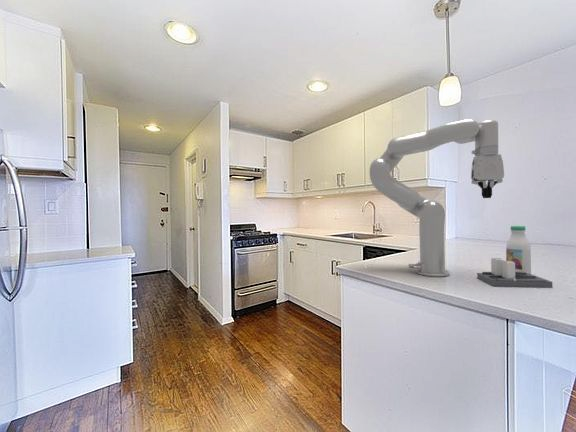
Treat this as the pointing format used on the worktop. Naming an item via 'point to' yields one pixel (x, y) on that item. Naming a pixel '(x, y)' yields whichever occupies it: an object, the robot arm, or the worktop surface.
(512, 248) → the milk bottle
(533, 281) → the dark grey tray
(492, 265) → the white rectangular block
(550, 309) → the worktop surface
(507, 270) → the front fader
